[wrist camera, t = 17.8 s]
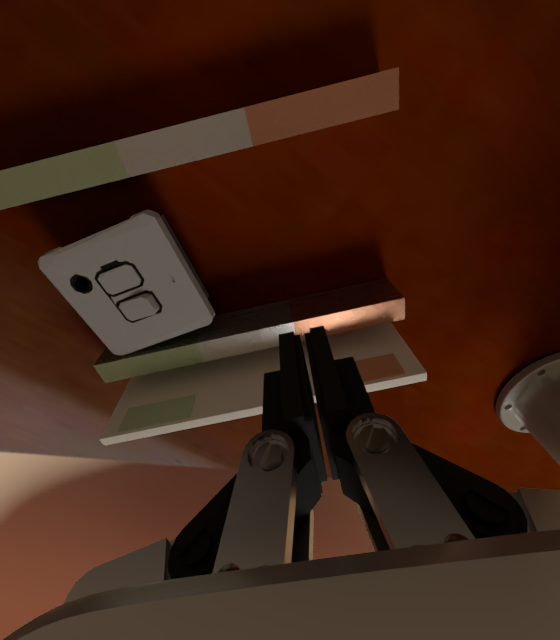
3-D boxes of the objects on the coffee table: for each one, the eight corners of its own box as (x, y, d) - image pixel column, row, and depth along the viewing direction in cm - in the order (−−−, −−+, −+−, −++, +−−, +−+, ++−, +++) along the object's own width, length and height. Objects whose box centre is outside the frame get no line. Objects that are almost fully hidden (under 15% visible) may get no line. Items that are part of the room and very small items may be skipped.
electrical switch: (28, 260, 21) (135, 216, 18) (78, 234, 25) (171, 196, 22) (113, 359, 25) (209, 337, 23) (143, 323, 30) (227, 301, 27)
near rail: (380, 76, 20) (398, 67, 17) (381, 112, 21) (399, 109, 18) (8, 172, 21) (-26, 177, 18) (27, 202, 22) (-3, 210, 19)
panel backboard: (387, 316, 29) (427, 371, 22) (387, 324, 30) (426, 380, 23) (133, 371, 31) (98, 438, 24) (137, 378, 31) (104, 445, 24)
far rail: (386, 277, 27) (404, 297, 24) (386, 296, 28) (404, 319, 25) (112, 338, 29) (93, 365, 25) (122, 354, 30) (105, 383, 26)
